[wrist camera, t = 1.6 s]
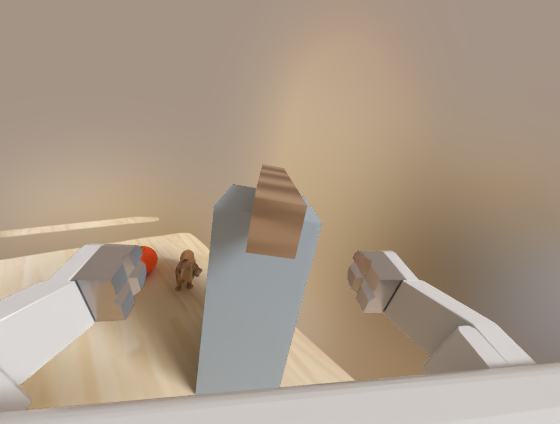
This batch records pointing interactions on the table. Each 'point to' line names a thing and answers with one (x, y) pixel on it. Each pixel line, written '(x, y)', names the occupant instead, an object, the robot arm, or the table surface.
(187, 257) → the lion figurine
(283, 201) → the bar
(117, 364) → the table surface
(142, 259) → the clementine
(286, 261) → the stand
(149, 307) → the table surface
